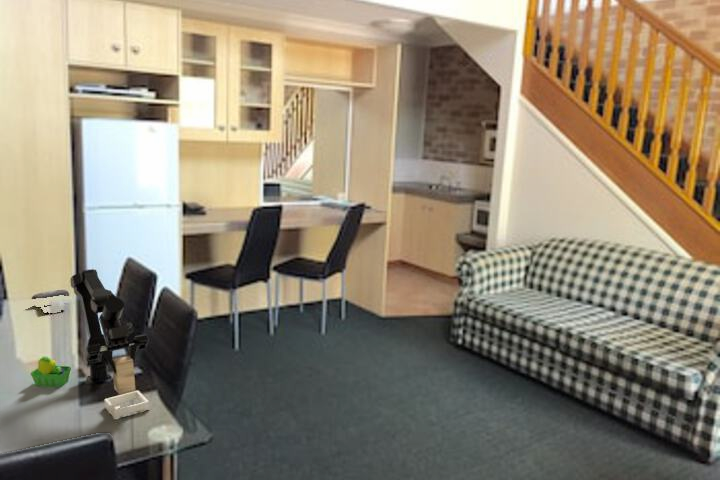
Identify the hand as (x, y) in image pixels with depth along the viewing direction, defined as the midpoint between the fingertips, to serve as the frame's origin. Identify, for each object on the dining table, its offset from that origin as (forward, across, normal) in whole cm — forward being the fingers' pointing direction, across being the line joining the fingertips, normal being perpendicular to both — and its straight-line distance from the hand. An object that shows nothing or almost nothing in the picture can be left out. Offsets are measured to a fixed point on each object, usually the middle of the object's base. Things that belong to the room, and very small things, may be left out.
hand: (124, 371), depth 184 cm
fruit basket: (-17, -15, +36) cm, 43 cm away
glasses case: (-93, +5, +114) cm, 147 cm away
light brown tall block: (+4, 0, +6) cm, 7 cm away
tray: (+9, 0, +10) cm, 13 cm away
